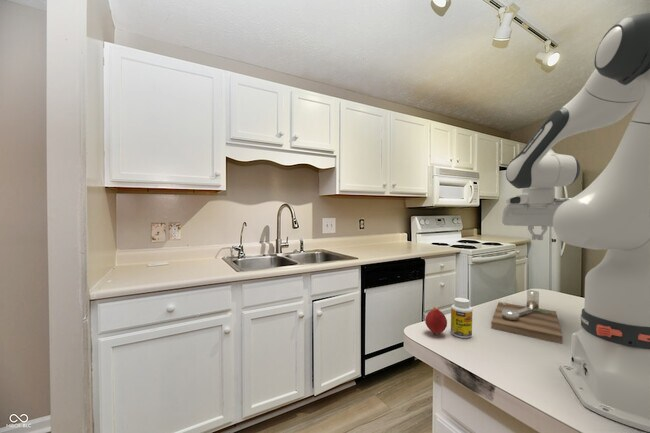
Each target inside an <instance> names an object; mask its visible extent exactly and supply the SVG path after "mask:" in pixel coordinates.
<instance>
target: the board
mask: <svg viewBox="0 0 650 433" xmlns="http://www.w3.org/2000/svg"><path fill="white" fill-rule="evenodd" d="M526 307H527V305H519V304H513V303H507V302H501V301H498V303H497V305H496V308H495V311H494V312H493V315H492V320H491V324H490V329H492V330H497V331H502V332H507V333H511V334H515V335H520V336H525V337H530V338H532V339H533V338H534V339H539V340H543V341H547V342H553V343H556V344H562V342H563V334H562V330H561V327H560V322H559V319H558V314H557V311H556V310H555V311H554V310H549V309H546V308H538V309H535V311H533V312H530V313H527V314H524V315H521V316H519V319H518V320H510V319H506V318H504V317H502V310H503V309H511V310H515V311H517V310H520V309H523V308H526Z"/></svg>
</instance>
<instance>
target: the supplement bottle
mask: <svg viewBox="0 0 650 433" xmlns="http://www.w3.org/2000/svg"><path fill="white" fill-rule="evenodd" d="M470 304H471V303H470V300H469V299H468V298H465V297H455V298H454V299H453V304H452V305H451V306H450V310H451V311H450V333H451V334H452V335H453V336H455V337H457V338H460V339H469V338H472V336H473V308H472V306H471V305H470Z"/></svg>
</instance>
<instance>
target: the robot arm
mask: <svg viewBox="0 0 650 433" xmlns="http://www.w3.org/2000/svg"><path fill="white" fill-rule="evenodd" d="M594 55H595V56H594V62H593V63H594V67H595V69H594V70H593V71H592V73H591V75H590V76H589V78H588V79H587V81H586V82H585V84H584V85H583V87H582V88H581V89H580V90H579V92H578V93H577V94H576V95H575V96H574V97H573V98H571V99H570V100H568V102H567V103H566V104H564V105H563V106H562V107H560V108H557V110H555V111H554V112H552V113H551V114H550V115H549V116H548V117H547V118H546V119H545V121H544V122H543V123H542V125H541V126H540V127H539V128H538V129H537V130H536V132H535V133H534V134H533V135H532V137H531V138H530V140H529V141H528V142H527V144H526V145H525V146H524V147H523V148H522V150H521V151H520V152H519V153H518V154H517V155H516V156H514V158H513V159H512V160H511V161H510V162H509V164H508V165H507V167H506V170H505V177H506V180H507V181H508V183H509V184H510V185H511V186H513V187H514V188H516V189H521V194H517V195H515V196H512V197H508V198H507V199H506V201H505V202H506V204H507V205H505V207H504V208H503V210H502V211H503V212H502V216H501V217H502V220H501V221H502V224H503V225H504V226H515V227H518V226H519V227H520V226H521V227H527V230H528V231H529V233H530V234H531V240H532V241H543V240H544V235H545V234H546V232H547V231H548V228H550V227H553V230H554V232H555V235H556V236H557V237H558V238H559V240H561V242H563V243H564V244H567V245H570V246H573V247H577V248H581V249H582V248H583V249H588V250H595V251H597V250H600V251H601V250H605V251H606V253H605V255H604V257H603V258H602V260H601V261H600V263H598V264H597V265H596V266H595V267H592V268H591V269H590V270H589V271H588V272H587V273H586V275H585V277H584V308H582V309H581V314H580V326H581V328H580V329H579V330H577V331H575V332H574V333H572V334H571V343H570V356H569V357H570V360H569V362H560V363H559V370H560V371H561V373H562V375H563V376H564V377H565V379H566V381H567V382H568V384H569V385H570V387H571V389H572V390H573V392H574V394H576V397H577V398H578V400H579V401H580V402H581V404H582V405H583V406H584V407H585V408H587V409H588V410H590V411H592V412H594V413H596V414H598V415H600V416H603V417H605V418H607V419H610V420H613V421H614V422H615V421H616V422H618V423H620V424H623V425H626V426H629V427H632V428H635V429H639V430H642V431H645V432H648V433H650V12H645V13H639V14H635V15H630V16H628V17H624V18H622V19H620V20H618V21H617V22H616V23H615V24H614V25H613V26H611V27H610V29H608V30H607V32H606V33H605V34H604V36H603V37H602V39H601V40H600V42H599V43H598V47H597V48H596V52H595V54H594ZM636 106H637V107H636ZM635 107H636V109H635V110H634V112H633V115H632V116H631V119H630V121H629V123H628V125H627V127H626V129H625V132H624V134H623V136H622V138H621V140H620V142H619V145H618V146H617V148H616V151H615V152H614V154H613V156H612V158H611V159H610V161H609V162H608V164H607V165H606V167H605V168H604V169H603V170H602V172H601V173H600V174H599V175H598V176H597V177H596V178H595V179H594V180H593V181H592V182H591V183H590V184H589V185H588V186H587V187H586V188H584V190H582V191H581V192H580V193H578V194H576V195H575V196H574V197H567V198H562V197H557V198H556V188H555V187H557V188H558V187H559V188H560V187H561V188H562V187H566V186H571V185H572V184H574V183H575V182H576V181H577V180H578V178H579V176H580V174H581V165H580V162H579V160H578V159H577V158H576V157H575V156H573V155H571V154H570V155H568V154H560V153H556V152H555V151H554V150H553V147H554V146H555V145H556V144H557V143H559V142H560V141H562V140H565V139H566V138H568V137H569V138H570V137H572V136H574V135H578V134H581V133H584V132H585V133H586V132H588V131H589V132H590V131H593V130H600V129H602V128H605V127H608V126H611V125H614V124H616V123H618V122H620V120H622V119H623V118H625V117H626V116H627V115H628V114H630V113H631V112H632V110H633V109H634V108H635ZM535 227H541V230H542V231H541V233H540V234H538V233H537V234H536V233H535V232H534V231H533V230H534V229H535Z"/></svg>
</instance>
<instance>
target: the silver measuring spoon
mask: <svg viewBox="0 0 650 433" xmlns="http://www.w3.org/2000/svg"><path fill="white" fill-rule="evenodd" d="M539 302H540V292H539V291H537V290H532V289H530V290H529V289H527V290H526V306H527V307H526V308H523V309H520V310H517V311H515V310H511V309H503V310H502V317H504V318H506V319H510V320H518V319H519V316H521V315H524V314H527V313H530V312H533V311H535V309H538V308H539V306H540V305H539V304H540V303H539ZM539 309H540V308H539Z"/></svg>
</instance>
